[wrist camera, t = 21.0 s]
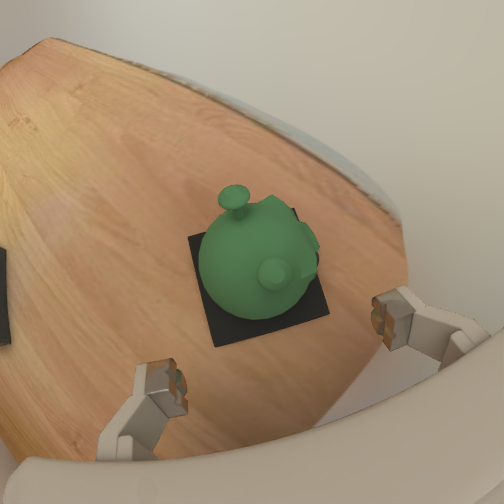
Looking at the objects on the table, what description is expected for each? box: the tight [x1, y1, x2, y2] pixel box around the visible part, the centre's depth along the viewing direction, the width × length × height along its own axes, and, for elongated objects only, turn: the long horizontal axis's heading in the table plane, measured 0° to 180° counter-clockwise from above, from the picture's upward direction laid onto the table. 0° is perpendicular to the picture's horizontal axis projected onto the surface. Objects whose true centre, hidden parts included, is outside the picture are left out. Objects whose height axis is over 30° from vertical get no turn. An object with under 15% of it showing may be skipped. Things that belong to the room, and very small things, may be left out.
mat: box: [188, 208, 330, 347], centre depth 23 cm, size 9×9×1 cm
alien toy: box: [199, 185, 320, 320], centre depth 18 cm, size 7×8×10 cm
